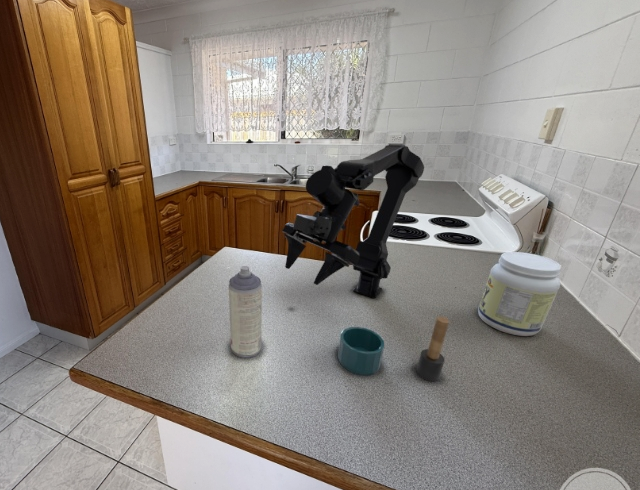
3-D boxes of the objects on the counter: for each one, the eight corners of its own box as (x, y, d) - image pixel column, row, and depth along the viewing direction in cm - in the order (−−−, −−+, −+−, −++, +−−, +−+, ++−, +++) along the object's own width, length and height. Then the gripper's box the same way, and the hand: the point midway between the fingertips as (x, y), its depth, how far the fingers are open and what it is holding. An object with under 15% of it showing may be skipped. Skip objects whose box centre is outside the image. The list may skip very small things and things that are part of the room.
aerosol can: (255, 335, 74) (255, 259, 66) (265, 354, 68) (266, 273, 60) (228, 340, 72) (224, 263, 65) (234, 360, 66) (232, 277, 59)
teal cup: (347, 342, 71) (350, 322, 69) (385, 358, 66) (390, 337, 64) (331, 362, 65) (333, 341, 63) (371, 382, 60) (375, 359, 58)
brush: (419, 363, 65) (433, 310, 60) (441, 372, 62) (457, 318, 57) (414, 374, 62) (428, 320, 57) (436, 384, 59) (453, 329, 54)
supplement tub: (481, 303, 85) (501, 246, 78) (541, 321, 77) (568, 259, 70) (471, 322, 77) (491, 260, 70) (537, 345, 69) (566, 278, 62)
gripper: (284, 190, 71) (252, 250, 72) (351, 208, 57) (310, 283, 58) (311, 210, 79) (281, 265, 79) (376, 231, 64) (339, 297, 65)
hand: (300, 275), depth 70 cm, fingers open, 9 cm apart
